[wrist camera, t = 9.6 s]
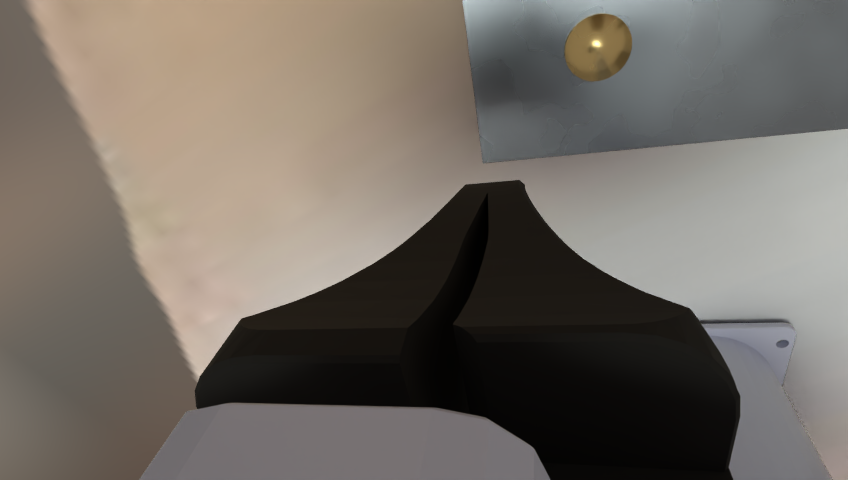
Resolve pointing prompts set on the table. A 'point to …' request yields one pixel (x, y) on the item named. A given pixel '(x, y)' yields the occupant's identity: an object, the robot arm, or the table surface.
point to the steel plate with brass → (652, 72)
